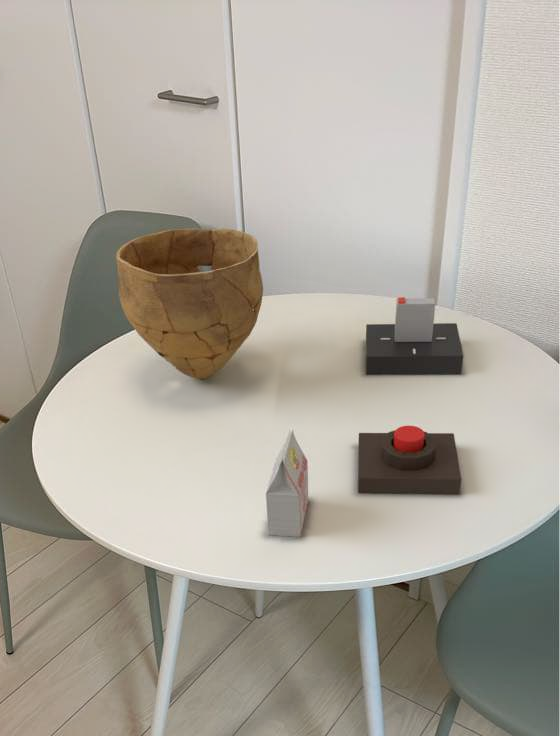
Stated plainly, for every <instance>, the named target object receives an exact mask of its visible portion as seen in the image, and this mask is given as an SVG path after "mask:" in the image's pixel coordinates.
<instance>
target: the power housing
mask: <svg viewBox="0 0 560 736" xmlns="http://www.w3.org/2000/svg"><path fill="white" fill-rule="evenodd" d="M395 430H396V429H395ZM395 430H392V431H388V432H359V433H358V444H357V445H358V446H357V447H358V448H357V450H358V451H357V455H358V457H357V460H358V461H357V466H358V467H357V493H358V494H416V495H417V494H419V495H460V493H461V492H460V491H461V484H462V476H461V470H460V469H461V468H460V464H459V456H458V451H457V445H456V439H455V434H454V432H427V431H424V434H425V435H424V446H423V449H422V450H420V451H417V452H402V451H399V450H396V449H395V448H394V432H395Z"/></svg>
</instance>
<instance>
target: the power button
mask: <svg viewBox="0 0 560 736" xmlns="http://www.w3.org/2000/svg"><path fill="white" fill-rule="evenodd" d="M424 432H425V431H424V430H423V429H422V428H421V427H418V426H415V425H402V426H399V427H398V428H396V429H395V432H394V448H395V449H396V450H399V451H402V452H417V451H420V450H422V449H423V446H424V435H425V434H424Z"/></svg>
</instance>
